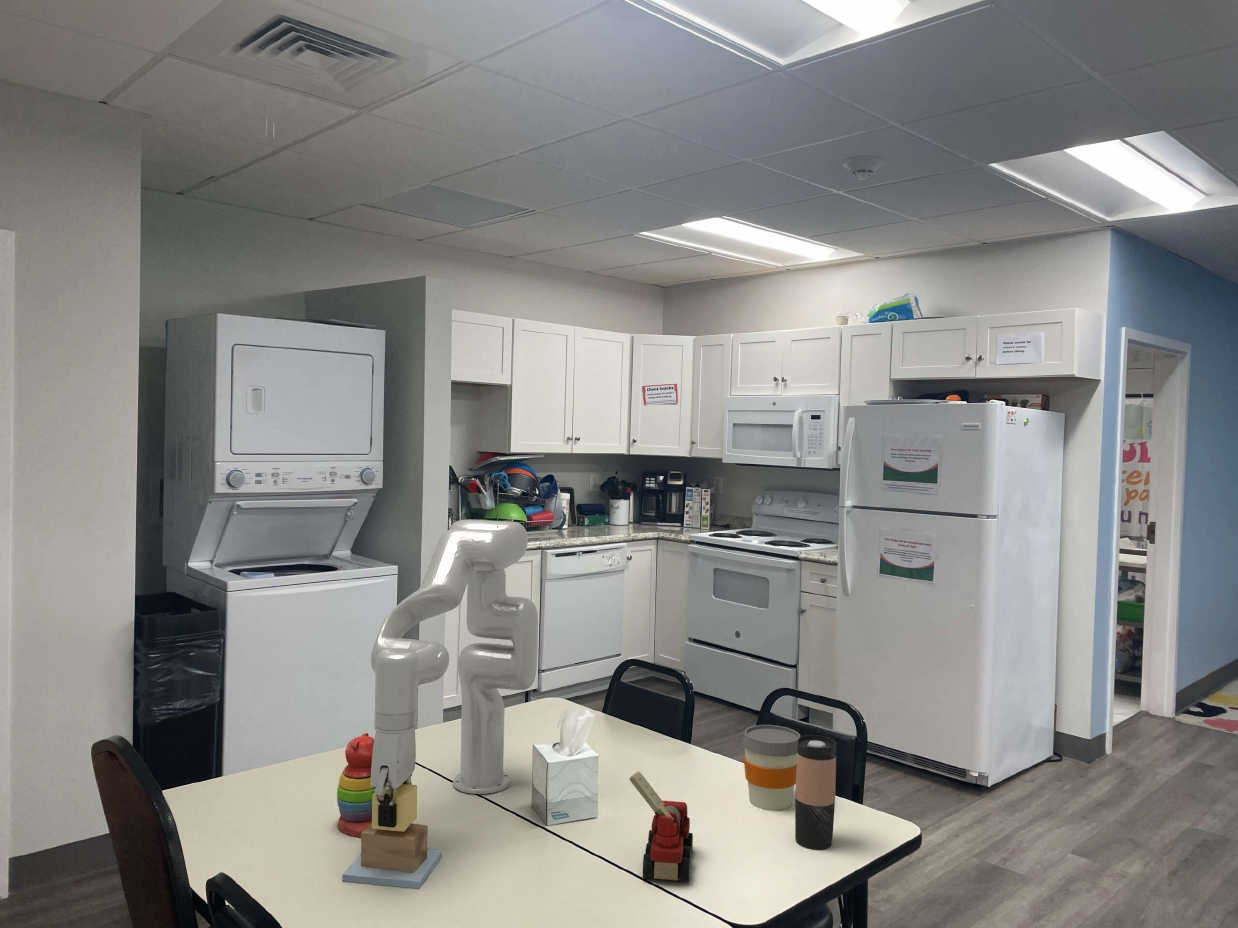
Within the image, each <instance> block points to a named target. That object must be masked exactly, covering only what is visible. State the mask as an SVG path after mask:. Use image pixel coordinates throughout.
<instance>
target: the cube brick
mask: <svg viewBox="0 0 1238 928" xmlns="http://www.w3.org/2000/svg"><path fill="white" fill-rule="evenodd" d="M386 786H392V783H387V784H386ZM385 791H386V793H387V794H389V796H391V790H385ZM377 801H378V800H377V797H376V796H375V793H374V794H373V795H372V829H381V830H392V831H403V832H404V831H405V830H406V829H407V828H408V827H409V826H410V825H411V823H414V821H415V820H416V819H417V817H418V815H417V814H418V785H417V784H412V785H410V784H401V785H400V786H399V787H398V788H397V790H396V797H395V803H394V804H397V817H396V826H395V827H394V828H393V827H381V826H378V804H377Z"/></svg>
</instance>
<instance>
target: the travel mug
mask: <svg viewBox="0 0 1238 928" xmlns="http://www.w3.org/2000/svg"><path fill="white" fill-rule="evenodd" d="M836 775H837V742H836V741H835V739H833V738H830V737H827V736H824V735H823V736H822V735H818V734H817V735H815V734H807V735H802V736H800V738H799V739H798V744H797V768H796V784H795V794H794V797H795V798H794V800H795V802H794V804H795V805H794V809H795V811H794V814H795V815H794V816H795V817H794V819H795V821H794V828H795V829H794V832H795V833H794V835H795V842H796V844H798V845H799V846H800V847H803V848H806V849H809V850H813V851H817V850H818V851H819V850H821V851H823V850H827V849H830V848H831V847H832V845H833V840H834V839H833V837H834V821H835V808H836V781H837V780H836V778H837V776H836Z"/></svg>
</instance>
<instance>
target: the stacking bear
mask: <svg viewBox="0 0 1238 928" xmlns="http://www.w3.org/2000/svg"><path fill="white" fill-rule="evenodd" d="M374 739H375V737H373V736H370V735H369V732H365V733H363V734H362V735H360V736H357V737H355V738H352V739H351V740H350V741H349V742H348V743H347V745H346V747H345V750H344V751H345V752H344V753H345V754H344V755H345V759H346V760H345V761H346V763H347V765H346V766H345V767H344V769H343V771H341V773H340V776H339V781H338V786H337V791H336V803H337V807H338V811H339V815H340V816H339V818H338V821H337V828H338V829H339V830H340V832H342V833H343V834H347V835H349V836H352V837H358V838H361V833H362V832H363V831H364V830H365V829H367V828H368V827H369V826H370V825H371V824H372V795H373V794H374V793H375V789H376V787H375V788H373V787H372V786H371V768H372V754H373V745H374Z"/></svg>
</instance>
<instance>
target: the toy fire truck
mask: <svg viewBox="0 0 1238 928" xmlns="http://www.w3.org/2000/svg"><path fill="white" fill-rule="evenodd" d="M629 781H630V783H631V784H632V785H633V787H634V788H635V789H636V790H637V792H638V793H639V794H640V796H641V797H642V798H643V800H644V801H645V802H646V803H647V805H648V806H649V808H651V810H652V811H653V812H654V815H653V818H652V821H651V829H649V830H648V838H647V843H646V846H645V853H644V854H643V859H642V878H643V879H646V880H647V879H650V880H654V879H656V880H665V881H666V880H667V881H668V880H669V881H678V882H690V877H691V868H692V856H693V849H694V846H693V844H694V843H693V842H694V841H693V840H694V835H693V834H694V833H692V832H690V829H691V827H690V826H691V819H690V817H688V804H687V803H686V802H685V801H675V800H662V798H661V797H660V796H659V794H658V793H657V791H655V789H654V788H653V786H651V784H650V783H649V781H648V780H647V779H646V777H645V776H644V775H643V774H642V773H641V772H640V771H636V772H635V773H634V774H632V775H631V776H630V777H629Z"/></svg>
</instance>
